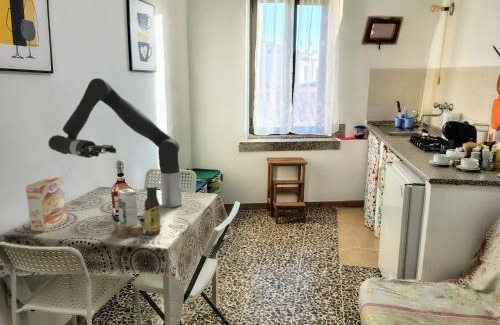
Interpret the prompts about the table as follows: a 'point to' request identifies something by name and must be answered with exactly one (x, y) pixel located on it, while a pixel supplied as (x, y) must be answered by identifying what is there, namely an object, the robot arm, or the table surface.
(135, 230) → the pedestal
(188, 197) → the table surface
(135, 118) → the robot arm
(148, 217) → the sauce bottle
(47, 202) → the coffeecake box
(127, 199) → the syrup box
